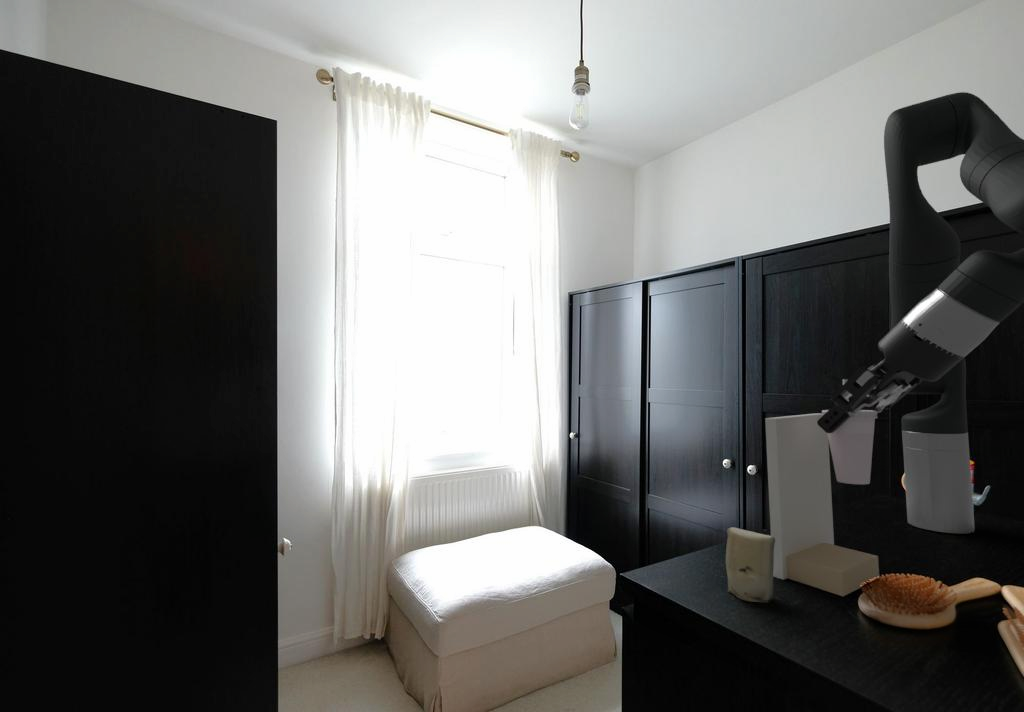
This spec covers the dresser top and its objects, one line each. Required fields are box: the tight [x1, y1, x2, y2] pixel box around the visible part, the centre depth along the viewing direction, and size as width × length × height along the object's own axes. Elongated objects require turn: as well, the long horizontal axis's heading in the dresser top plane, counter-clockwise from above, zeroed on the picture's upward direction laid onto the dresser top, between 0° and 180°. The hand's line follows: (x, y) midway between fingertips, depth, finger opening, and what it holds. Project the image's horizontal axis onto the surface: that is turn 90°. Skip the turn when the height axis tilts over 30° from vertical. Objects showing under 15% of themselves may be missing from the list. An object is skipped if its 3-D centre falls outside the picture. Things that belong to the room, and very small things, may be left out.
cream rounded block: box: [725, 526, 775, 604], centre depth 63 cm, size 6×5×8 cm
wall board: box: [764, 412, 880, 597], centre depth 69 cm, size 14×8×22 cm, turn 122°
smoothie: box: [821, 378, 878, 485], centre depth 67 cm, size 6×6×14 cm
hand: (836, 426), depth 69 cm, fingers closed on smoothie, 6 cm apart
